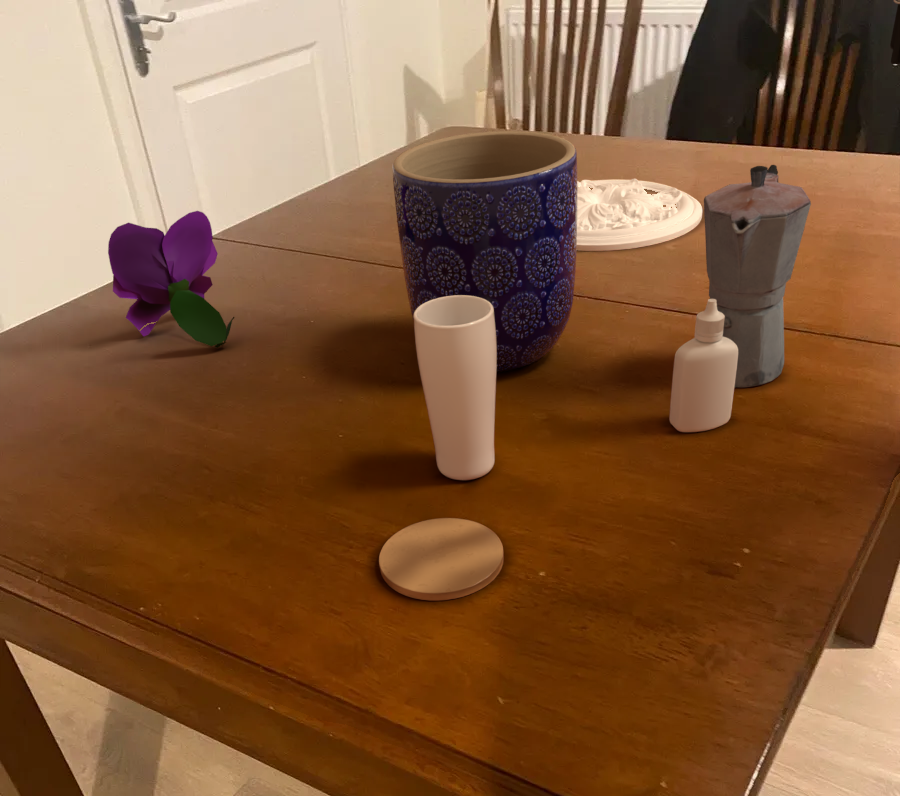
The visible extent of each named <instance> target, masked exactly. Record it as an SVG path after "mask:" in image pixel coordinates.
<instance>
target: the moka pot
mask: <svg viewBox="0 0 900 796" xmlns="http://www.w3.org/2000/svg"><path fill="white" fill-rule="evenodd" d="M749 171H750V172H749V174H750V182H742V183H731V184H727V185H725V186H723V187H721V188H718V189H717V190H715V191H713V192H711V193H709V194H707V195H705V196H704V198H703V212H704V213H703V214H704V215H703V216H704V237H705V239H704V240H705V261H706V274H707V278H708V284H709V285H708V297H709V299H716V302H717V310H718V311H719V312H721V313H723V314H724V316H725V319H724V328H723V337H726V338H729V339H730V340H732V341H733V342H734V343H735V344H736V345H737V347H738V361H737V370H736V378H735V386H734V388H750V387H756V386H762V385H765V384H767V383H770V382H772V381H774V380H775V379H777V378H778V377H779V376H780V375H781V374H782V372H783V368H784V367H785V366H784V365H785V321H784V320H785V319H784V316H785V315H784V314H785V312H784V311H785V310H784V297H785V293H786V288H787V287H786V285H787V282H789V281H790V280H791V278H792V275H793V271H794V267H795V263H796V260H797V256H798V253H799V249H800V246H801V243H802V239H803V235H804V231H805V227H806V223H807V219H808V216H809V212H810V208H811V205H812V203H811V199H810V197H809V196H808V194H807V192H806V191H805V189H804V188H802V186H798V185H793V184H788V183H782V182H779V175H778V174H779V170H778V166H777V165H776V164H771V165H770V166H769V167H768V166H765V165H756V166H754V167H751V168H750V169H749Z"/></svg>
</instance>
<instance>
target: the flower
mask: <svg viewBox="0 0 900 796" xmlns="http://www.w3.org/2000/svg"><path fill="white" fill-rule="evenodd" d="M213 238H214V237H213V228H212V225H211V222H210V220H209V217H208V216H207V215H206V214H205V213H204V212H203V211H201V210H195V211H191V212H188V213H187V214H185V215H183V216H182V217H180V218H178V219H177V220H176V221H174V223H172V224H171V225H170V226H169V228H168V229H167V231H166V233H164V231H162V230H160V229H159V228H157V227H146V226H142V225H140V224H139V225H138V224H135V223H132V222H127V223H124V224H121V225H119V226H117V227H116V228H115V229H114V230H113V231H112V232H111V234H110V236H109V240H108V246H107V247H108V248H107V254H108V259H109V264H110V269H111V273H112V292H113V293H114V294H115V295H116V296H117V297H118V298H119V299H130V300H135V302H133V304H131V305H130V306H129V307H128V310H127V312H126V316H125V318H126V320H128V321H129V322H130V323H131V324H132V325H133V326H134V327H135V328H136V329H137V331H139V330H140V329H141V328H142V327H143V326H144V325H146V324H147V323H151V322H156V321H157V322H159V320H160V319H161V318H162V316H164V315H165V314H167V313H168V312H170V314H171V316H172V317H173V319H174V321H175V323H177V325H178V327H179V328H180V329H182V330H183V331H184V332H185V333H186V334H187V335H188V336H190V337H191V338H192V339H193V340H194V341H195V342H199V343H201V344H203V345H206V346H210V347H213V346H214V348H216V349H217V348H220V347H222V346H223V345H225V344H227V343H228V342H227V340H228V337H229V334H230V331H231V328H232V323H233V320H235V318H236V317H235V316H233V317H232V318H231V320H230V321H229V322H228V324H226V323H225V321H224V318H223V317H222V314H221V313H220V311H218V310H217V309H216V308H215V307H214V306H213V305H212V304H211V303H209V302H208V301H207V300H206V299H205V294H206V293H207V292H208V291H209V290H210V288H212V286H213V281H212V278H211V276H206V275H205V273H206V272H207V271H209V270H210V269H211V267H213V266H214V265H215V264H216V261H217V257H218V254H219V253H218V251H217V249H216V246H215V244H214V241H213ZM156 324H157V323H154V324H149V325H147V326H146V327H144V328H143V329H142V330H141V331H139V333H140V334H141V335H142V337H146V336H148V335H149V334H150V333H151V332H152V330H153V329H154V328H155V326H156Z"/></svg>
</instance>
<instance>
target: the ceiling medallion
mask: <svg viewBox="0 0 900 796" xmlns="http://www.w3.org/2000/svg"><path fill="white" fill-rule="evenodd" d="M589 187H590V188H593V189H592V190H591V189H590V188H589ZM644 189H647V190H652V191H655V192H658V193H657V194H652V195H651V194H647V192H646V191H645V190H644ZM675 204H676V205H675ZM663 205H666V207H663ZM671 207H672V208H671ZM676 207H677V208H676ZM702 218H703V206H702V205H701V203H700V201H698V200H697V199H696V198H694V197H693V196H692V195H690V194H689V193H687V192H685V191H683V190H680V189H678V188H677V187H674V186H670V185H667V184H664V183H659V182H655V181H648V180H640V179H639V180H638V179H637V178H631V179H596V180H590V179H582V180H581V181H579V180H577V248H576V251H579V252H581V251H582V252H607V251H621V250H629V249H630V250H631V249H637V248H644V247H649V246H652V245H657V244H661V243H664V242H665V243H666V242H669V241H671V240H674V239H677V238H679V237H682V236H684V235H686V234H687V233H689V232H691V231H692V230H694V229H695V228H696V227H698V225H699V224H700V223H701V222H702Z"/></svg>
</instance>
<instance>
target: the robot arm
mask: <svg viewBox="0 0 900 796" xmlns="http://www.w3.org/2000/svg"><path fill="white" fill-rule="evenodd" d="M892 1H893V2H894V3H895V4H897V7H896V12H895V17H894V23H893V28H892V33H891V39H890V44H889V45H890V46H889V47H890V50H892V53H891V57H890V64H891V65H898V66H899V65H900V0H892Z"/></svg>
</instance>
